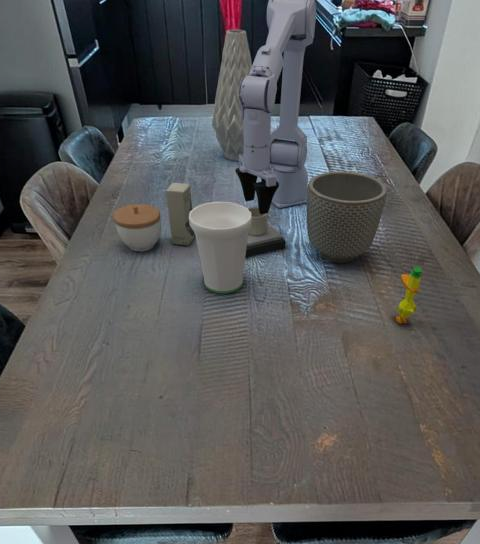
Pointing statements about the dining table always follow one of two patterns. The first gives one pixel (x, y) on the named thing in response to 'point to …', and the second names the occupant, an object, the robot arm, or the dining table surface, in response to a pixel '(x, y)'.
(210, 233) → the cup
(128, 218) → the trinket box
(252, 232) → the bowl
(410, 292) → the toy figure
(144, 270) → the dining table surface
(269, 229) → the scale
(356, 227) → the planter
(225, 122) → the vase
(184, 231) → the box
